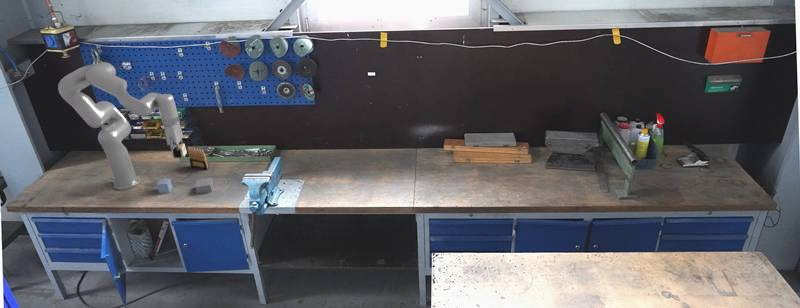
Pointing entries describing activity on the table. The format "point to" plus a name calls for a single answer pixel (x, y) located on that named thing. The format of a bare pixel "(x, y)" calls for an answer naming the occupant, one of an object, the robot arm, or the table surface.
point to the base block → (204, 185)
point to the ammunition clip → (198, 158)
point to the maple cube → (181, 150)
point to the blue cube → (164, 185)
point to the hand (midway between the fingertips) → (179, 154)
